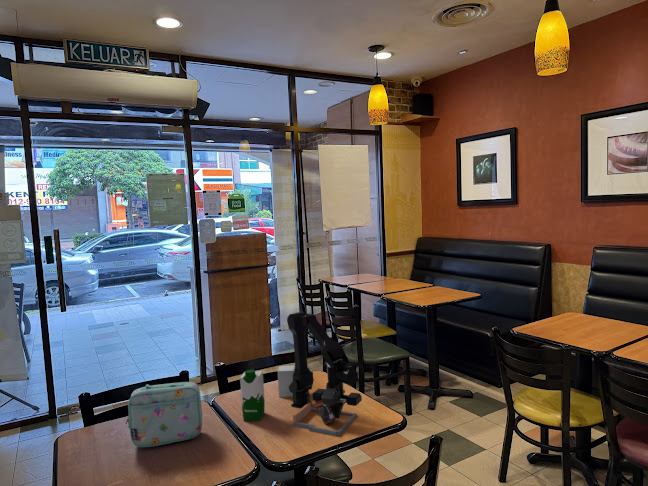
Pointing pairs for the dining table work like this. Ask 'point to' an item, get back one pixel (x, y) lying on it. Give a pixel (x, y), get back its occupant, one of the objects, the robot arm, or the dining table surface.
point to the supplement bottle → (325, 411)
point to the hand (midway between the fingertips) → (338, 418)
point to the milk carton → (252, 395)
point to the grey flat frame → (303, 413)
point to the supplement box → (285, 380)
